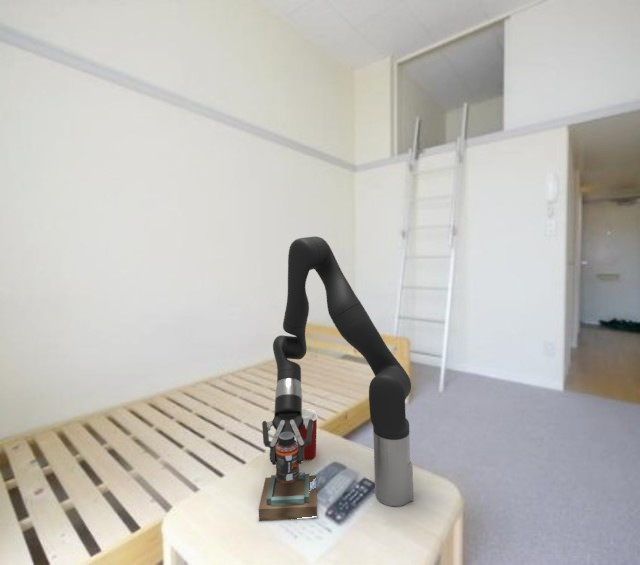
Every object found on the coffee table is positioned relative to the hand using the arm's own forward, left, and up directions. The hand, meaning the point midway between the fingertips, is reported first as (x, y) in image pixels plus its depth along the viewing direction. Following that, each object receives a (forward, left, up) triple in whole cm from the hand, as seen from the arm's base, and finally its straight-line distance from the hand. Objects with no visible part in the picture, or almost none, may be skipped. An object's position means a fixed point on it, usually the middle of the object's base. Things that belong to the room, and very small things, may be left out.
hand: (286, 463), depth 86 cm
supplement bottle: (0, -2, -5) cm, 5 cm away
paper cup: (-4, -23, -12) cm, 26 cm away
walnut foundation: (0, -2, -11) cm, 12 cm away
